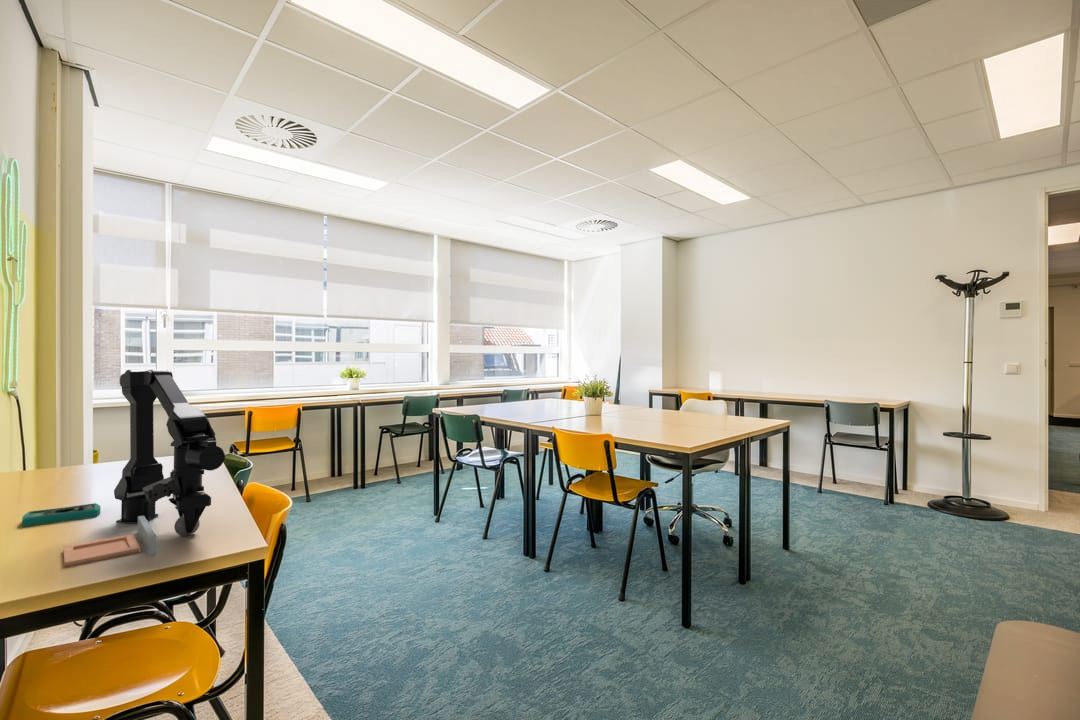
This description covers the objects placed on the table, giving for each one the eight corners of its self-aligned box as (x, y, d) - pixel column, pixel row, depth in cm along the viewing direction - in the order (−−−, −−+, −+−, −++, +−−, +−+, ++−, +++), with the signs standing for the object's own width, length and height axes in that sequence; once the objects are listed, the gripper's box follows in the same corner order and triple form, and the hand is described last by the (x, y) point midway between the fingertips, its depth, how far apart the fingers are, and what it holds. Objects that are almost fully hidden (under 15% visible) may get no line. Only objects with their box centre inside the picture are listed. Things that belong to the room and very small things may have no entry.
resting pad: (63, 551, 110) (63, 546, 110) (133, 538, 118) (133, 533, 118) (64, 567, 101) (64, 562, 101) (139, 552, 110) (140, 547, 110)
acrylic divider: (137, 532, 122) (137, 516, 122) (143, 531, 123) (143, 515, 123) (149, 556, 108) (149, 537, 108) (156, 554, 109) (156, 536, 109)
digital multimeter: (99, 518, 134) (100, 507, 134) (20, 529, 124) (20, 517, 125) (100, 511, 140) (100, 501, 140) (24, 522, 130) (25, 511, 130)
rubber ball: (168, 538, 118) (169, 517, 118) (184, 531, 123) (184, 511, 123) (189, 539, 118) (190, 517, 118) (204, 531, 123) (204, 511, 123)
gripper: (140, 464, 122) (139, 528, 122) (152, 477, 109) (150, 549, 108) (195, 458, 130) (194, 518, 130) (212, 470, 116) (210, 537, 116)
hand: (187, 530), depth 121 cm, fingers closed on rubber ball, 5 cm apart
